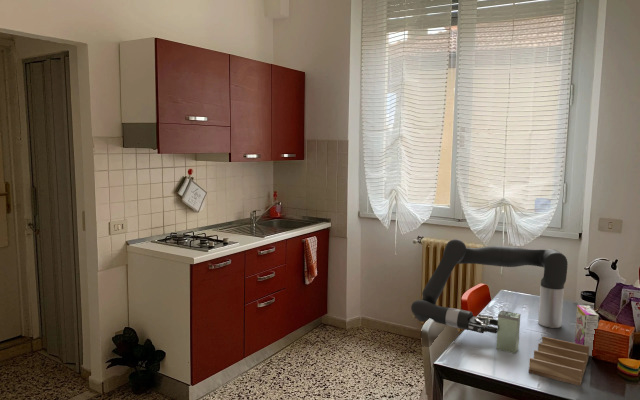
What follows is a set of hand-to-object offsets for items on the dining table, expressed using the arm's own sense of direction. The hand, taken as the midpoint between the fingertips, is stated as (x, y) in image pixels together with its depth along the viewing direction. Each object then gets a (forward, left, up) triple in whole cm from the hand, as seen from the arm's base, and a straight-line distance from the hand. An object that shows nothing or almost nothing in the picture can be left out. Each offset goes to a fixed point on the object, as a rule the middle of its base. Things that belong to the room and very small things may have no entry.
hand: (500, 327), depth 190 cm
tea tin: (0, +3, -8) cm, 9 cm away
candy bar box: (-16, +28, -8) cm, 33 cm away
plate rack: (+4, +22, -8) cm, 24 cm away
